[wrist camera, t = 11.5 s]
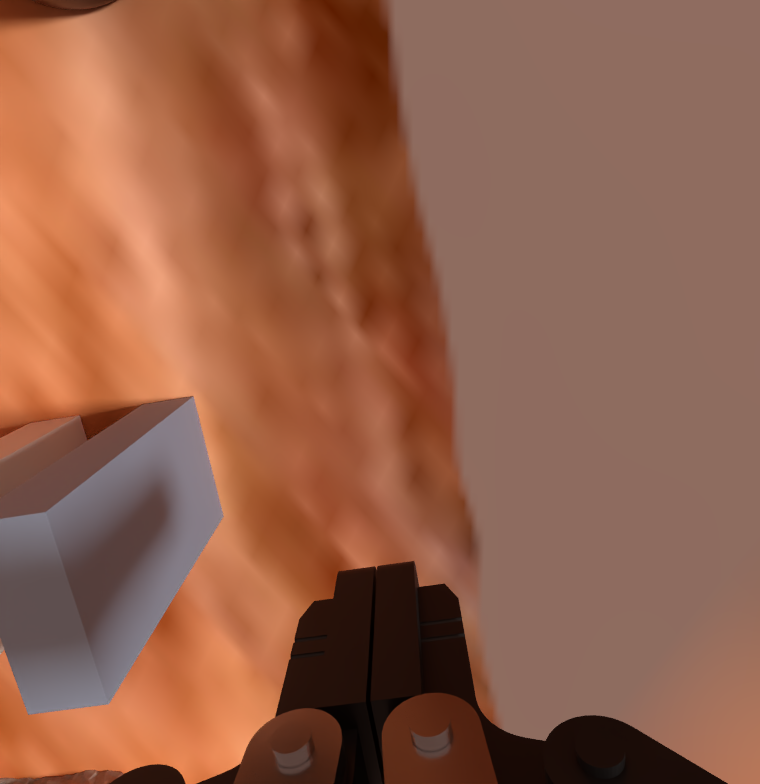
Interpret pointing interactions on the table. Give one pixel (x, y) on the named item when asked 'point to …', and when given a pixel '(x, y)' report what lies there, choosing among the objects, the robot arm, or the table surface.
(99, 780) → the brick
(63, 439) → the tile
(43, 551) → the tile
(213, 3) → the table surface
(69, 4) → the supplement bottle
